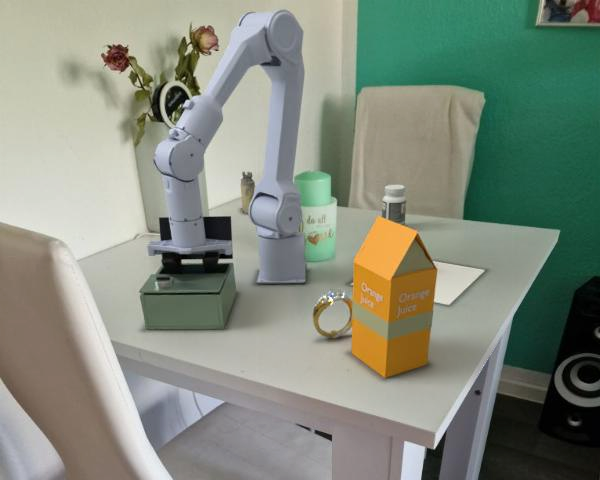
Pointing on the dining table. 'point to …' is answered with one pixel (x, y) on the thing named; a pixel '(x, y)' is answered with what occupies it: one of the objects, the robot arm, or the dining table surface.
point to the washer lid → (213, 230)
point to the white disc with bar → (163, 281)
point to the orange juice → (392, 299)
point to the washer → (189, 298)
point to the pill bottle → (394, 204)
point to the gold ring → (320, 308)
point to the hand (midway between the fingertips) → (196, 292)
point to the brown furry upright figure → (247, 190)
